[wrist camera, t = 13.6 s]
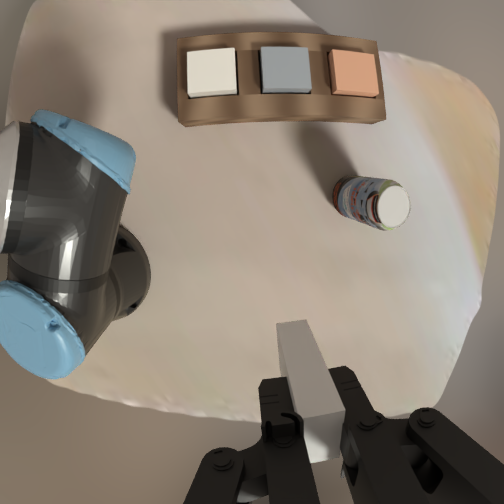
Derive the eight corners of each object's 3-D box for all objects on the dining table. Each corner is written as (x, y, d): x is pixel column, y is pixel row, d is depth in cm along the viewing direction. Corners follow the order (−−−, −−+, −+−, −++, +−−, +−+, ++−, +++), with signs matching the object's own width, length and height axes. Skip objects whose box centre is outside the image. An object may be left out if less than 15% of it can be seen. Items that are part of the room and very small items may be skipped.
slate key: (261, 96, 37) (263, 88, 33) (259, 57, 35) (260, 46, 31) (305, 96, 37) (311, 88, 33) (301, 58, 35) (307, 47, 31)
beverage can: (328, 175, 42) (359, 177, 30) (375, 175, 42) (416, 178, 31) (329, 218, 44) (359, 235, 32) (375, 217, 44) (415, 232, 32)
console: (185, 127, 40) (178, 121, 35) (183, 51, 37) (177, 38, 32) (371, 124, 40) (386, 119, 35) (363, 52, 37) (376, 41, 32)
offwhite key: (192, 100, 36) (187, 93, 33) (191, 62, 35) (187, 52, 31) (237, 97, 36) (236, 89, 33) (235, 58, 35) (234, 47, 31)
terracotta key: (328, 97, 37) (336, 89, 33) (324, 59, 35) (332, 49, 31) (367, 99, 37) (379, 93, 33) (363, 63, 35) (373, 54, 31)
